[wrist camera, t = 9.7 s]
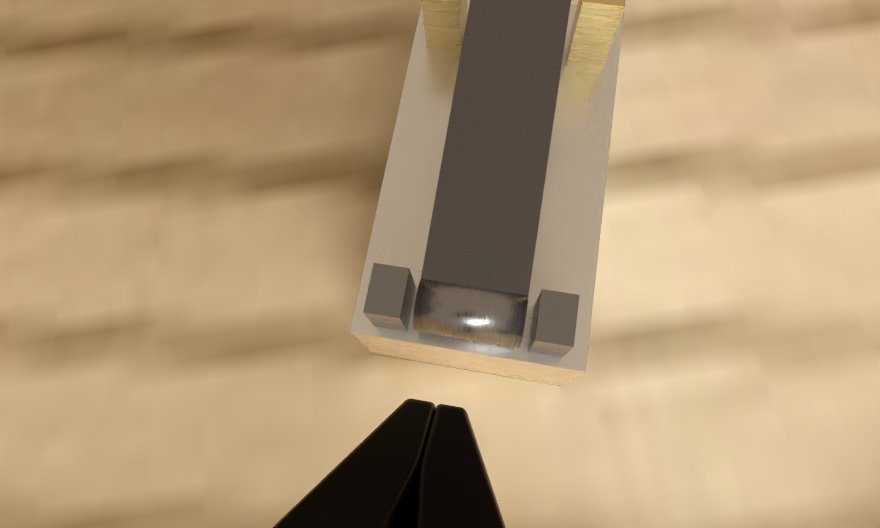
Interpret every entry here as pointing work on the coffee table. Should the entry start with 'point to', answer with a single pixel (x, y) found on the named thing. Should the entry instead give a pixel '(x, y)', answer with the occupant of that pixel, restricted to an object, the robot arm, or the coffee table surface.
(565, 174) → the white box with posts
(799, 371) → the coffee table surface
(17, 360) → the coffee table surface
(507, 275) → the block
